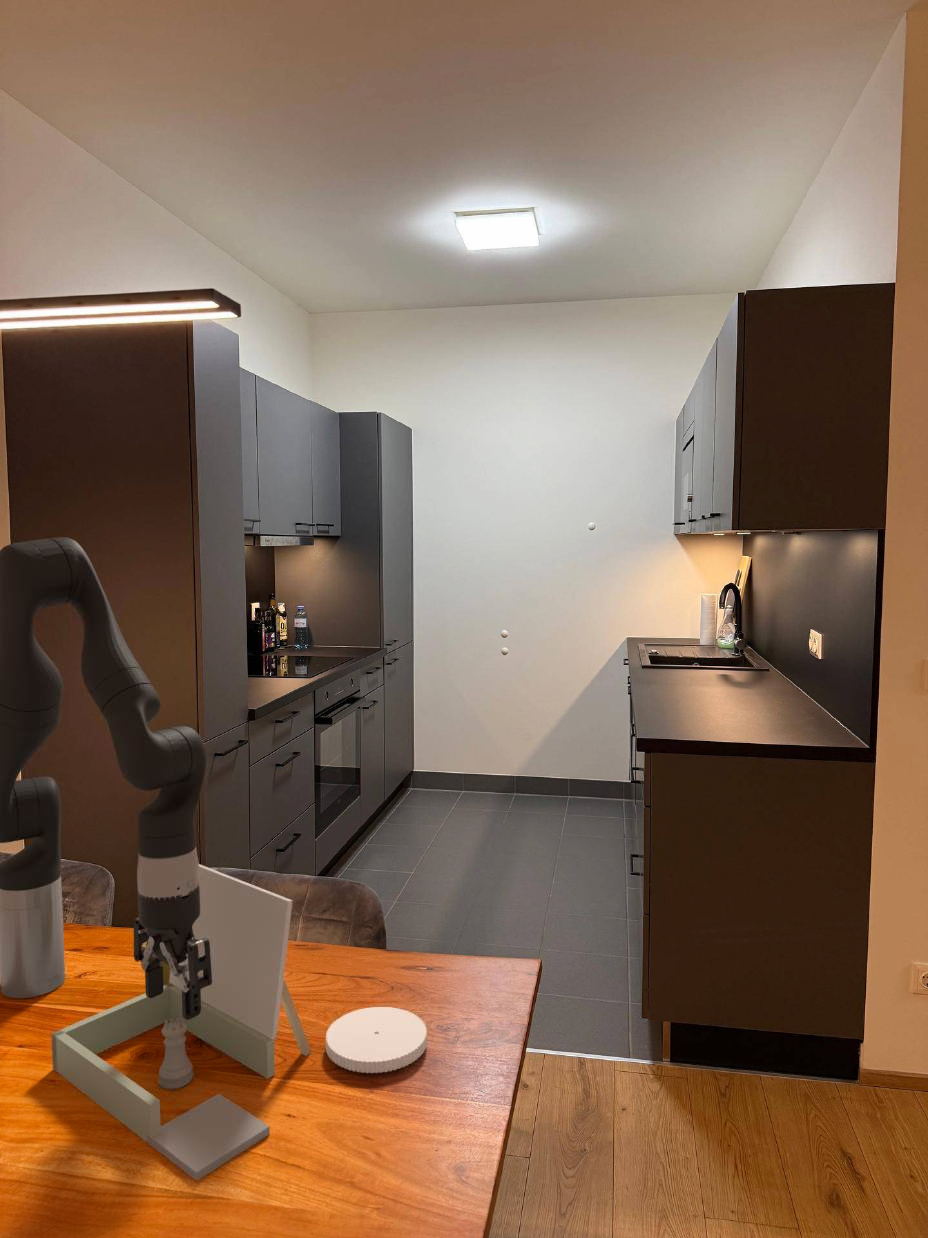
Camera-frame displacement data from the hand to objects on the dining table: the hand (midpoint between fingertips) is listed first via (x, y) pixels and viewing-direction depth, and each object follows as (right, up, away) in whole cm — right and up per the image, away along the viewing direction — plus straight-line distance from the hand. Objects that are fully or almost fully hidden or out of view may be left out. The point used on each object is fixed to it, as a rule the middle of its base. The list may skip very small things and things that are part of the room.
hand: (172, 1006), depth 115 cm
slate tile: (+8, -11, -10) cm, 17 cm away
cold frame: (0, -10, +6) cm, 12 cm away
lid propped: (+4, -4, +11) cm, 12 cm away
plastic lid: (+26, -10, +9) cm, 29 cm away
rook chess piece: (0, -11, +1) cm, 11 cm away
